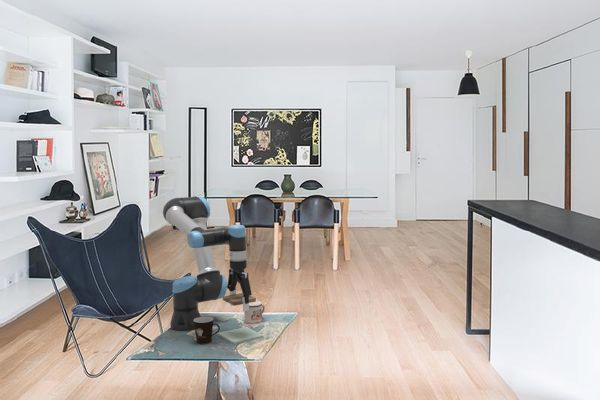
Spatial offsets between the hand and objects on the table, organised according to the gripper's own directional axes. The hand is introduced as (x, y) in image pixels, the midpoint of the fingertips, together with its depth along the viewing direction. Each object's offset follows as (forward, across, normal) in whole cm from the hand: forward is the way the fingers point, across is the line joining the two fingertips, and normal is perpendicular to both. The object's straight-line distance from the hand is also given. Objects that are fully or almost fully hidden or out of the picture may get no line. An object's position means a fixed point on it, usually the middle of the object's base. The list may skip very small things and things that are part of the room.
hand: (239, 307), depth 264 cm
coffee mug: (+14, -2, -16) cm, 21 cm away
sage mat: (+13, 0, 0) cm, 13 cm away
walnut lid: (-3, 0, 0) cm, 3 cm away
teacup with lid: (+13, -17, +18) cm, 28 cm away
